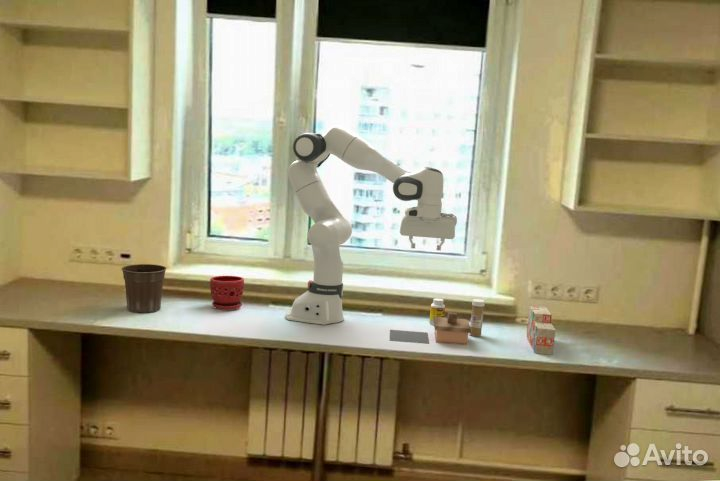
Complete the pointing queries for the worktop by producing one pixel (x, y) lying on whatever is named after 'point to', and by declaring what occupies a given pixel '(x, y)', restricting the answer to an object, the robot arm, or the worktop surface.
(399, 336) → the mat
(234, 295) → the plant pot
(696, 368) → the worktop surface
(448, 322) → the lid
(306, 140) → the robot arm
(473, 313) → the sprinkles bottle
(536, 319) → the red and white cartons
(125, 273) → the plant pot
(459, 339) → the orange open box
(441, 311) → the supplement bottle
